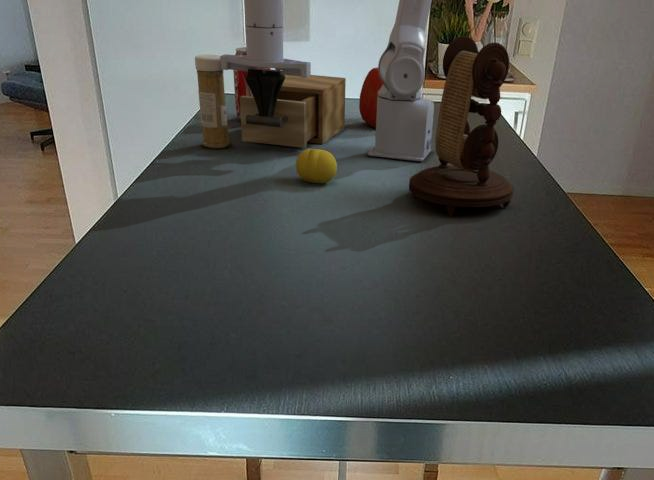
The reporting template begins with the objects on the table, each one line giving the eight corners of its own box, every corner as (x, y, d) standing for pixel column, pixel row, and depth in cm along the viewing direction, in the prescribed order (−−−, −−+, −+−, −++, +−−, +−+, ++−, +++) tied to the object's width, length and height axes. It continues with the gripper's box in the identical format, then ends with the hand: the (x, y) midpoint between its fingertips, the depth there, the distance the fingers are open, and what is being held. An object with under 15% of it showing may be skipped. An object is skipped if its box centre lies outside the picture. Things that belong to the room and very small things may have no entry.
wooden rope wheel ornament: (389, 192, 104) (399, 33, 92) (471, 182, 110) (490, 31, 98) (444, 223, 94) (464, 48, 82) (532, 210, 100) (562, 45, 88)
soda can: (233, 116, 142) (229, 46, 134) (268, 115, 143) (265, 46, 136) (239, 124, 136) (235, 52, 129) (275, 123, 138) (273, 51, 131)
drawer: (296, 153, 117) (295, 107, 113) (232, 146, 119) (229, 101, 115) (327, 132, 130) (327, 90, 125) (269, 126, 132) (267, 85, 128)
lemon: (340, 180, 108) (341, 148, 106) (331, 188, 105) (331, 155, 102) (302, 176, 110) (301, 144, 107) (291, 183, 106) (291, 150, 103)
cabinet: (322, 144, 126) (322, 89, 121) (256, 136, 129) (254, 83, 124) (344, 128, 137) (345, 77, 132) (283, 122, 139) (281, 72, 134)
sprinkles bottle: (234, 146, 123) (229, 56, 114) (212, 150, 120) (205, 58, 112) (219, 141, 125) (212, 53, 117) (197, 144, 123) (188, 54, 114)
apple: (382, 117, 146) (385, 57, 140) (424, 126, 141) (429, 64, 134) (347, 124, 140) (349, 62, 133) (390, 134, 134) (394, 70, 128)
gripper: (317, 27, 111) (316, 122, 119) (231, 20, 114) (236, 113, 122) (301, 31, 106) (302, 131, 114) (212, 24, 108) (218, 121, 117)
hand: (267, 123), depth 118 cm, fingers closed, pressing on drawer
